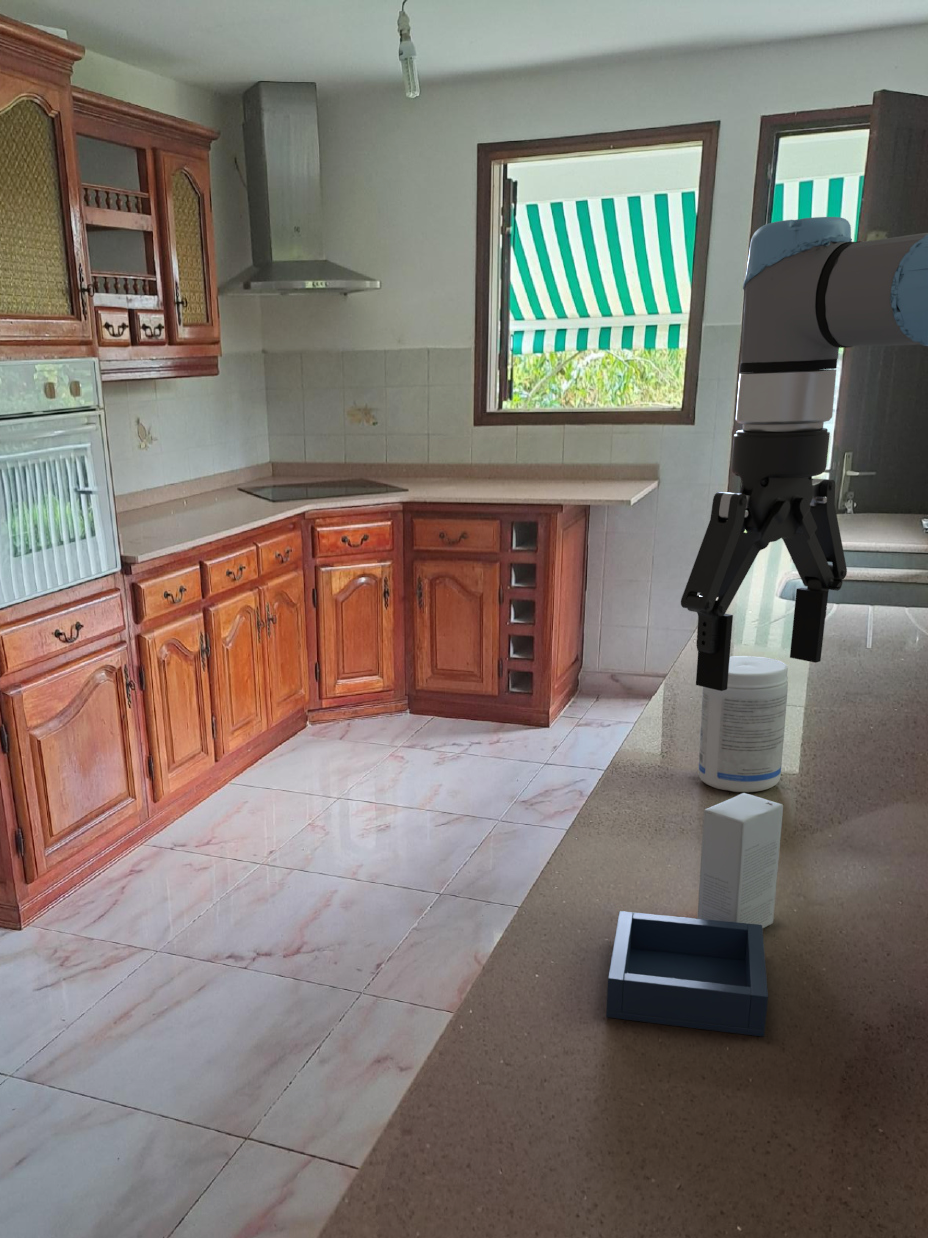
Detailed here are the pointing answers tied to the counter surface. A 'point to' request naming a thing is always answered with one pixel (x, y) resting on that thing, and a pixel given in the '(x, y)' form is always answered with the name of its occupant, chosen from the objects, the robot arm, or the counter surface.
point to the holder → (688, 973)
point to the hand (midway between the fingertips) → (759, 673)
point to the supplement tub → (744, 726)
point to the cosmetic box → (740, 860)
